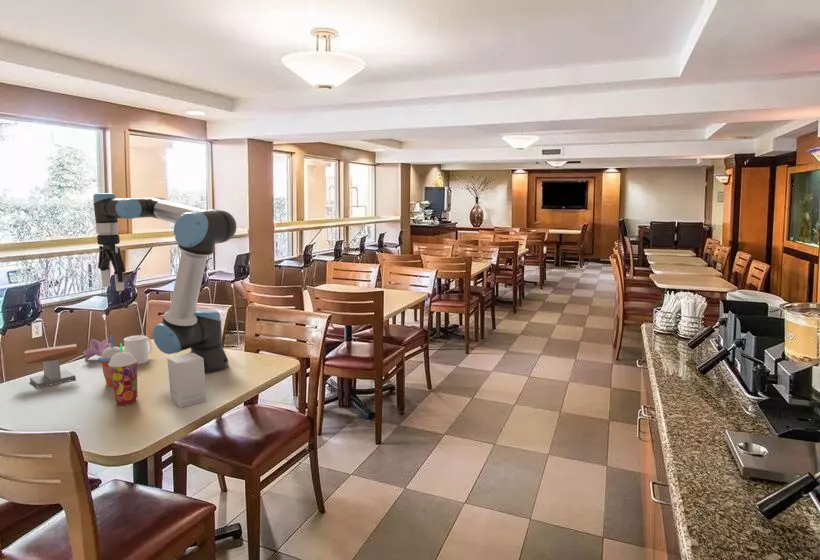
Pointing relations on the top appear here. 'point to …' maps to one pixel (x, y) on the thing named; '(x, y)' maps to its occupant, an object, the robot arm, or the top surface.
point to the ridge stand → (52, 374)
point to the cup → (138, 347)
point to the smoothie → (123, 377)
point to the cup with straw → (108, 360)
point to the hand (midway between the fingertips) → (113, 288)
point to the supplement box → (187, 379)
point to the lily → (96, 348)
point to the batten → (51, 353)
